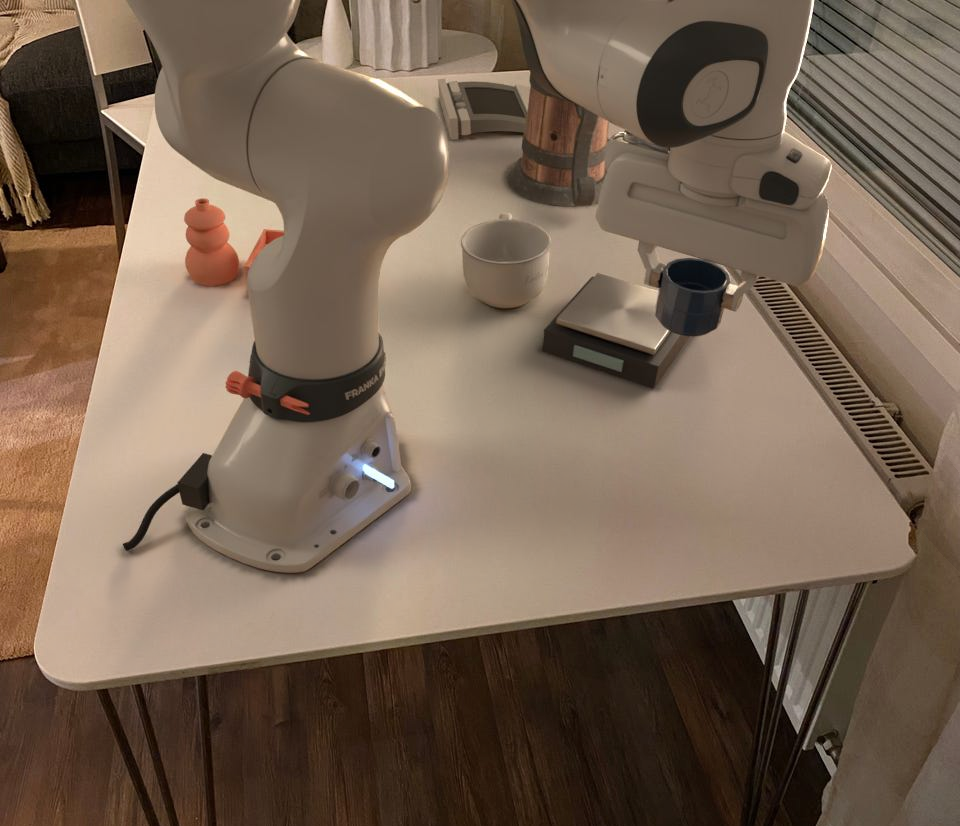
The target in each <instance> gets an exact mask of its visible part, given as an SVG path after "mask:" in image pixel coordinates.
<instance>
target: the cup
mask: <svg viewBox="0 0 960 826" xmlns="http://www.w3.org/2000/svg"><path fill="white" fill-rule="evenodd" d="M665 265H666V266H665V267H664V268H663V271H662V276H661V281H660V287H659V288H658V291H659V292H658V297H657V302H656V308H655V316H656V318H657V319H658V320H659V322H660V323H661V325H662V326H663V327H664V328H666V329H667V330H669V331H671V332H673V333H676V334H679V335H683V336H689V337H702V336H705V335H708V334H710V333H711V332H713V331H715V330H717V329H718V327H719V326H720V324H721V323H722V320H723V319H722V318H723V315H724V311H725V308H721V303H722V301H723V299H722V298H723V294H724V291H726V290H727V289H728V287H729V285H730V284H732V283H731V281H732V280H731V274H730V273H729V272H728V271H727V269H725V268H724V267H722V265H720V264H717V263H714V262H710V261H707V260H703V259H700V258H696V257H684V258H676V259H674V260H671V261H669V262H667V263H666V264H665Z"/></svg>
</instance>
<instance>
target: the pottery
mask: <svg viewBox="0 0 960 826" xmlns="http://www.w3.org/2000/svg"><path fill="white" fill-rule="evenodd" d="M194 204H195V205H194V206H192V207H190V208H189V209H188V210H187V211H186V212H185V213H184V217H183V221H184V224H186V225H187V227H186V228H185V238H186V241H187V243H188V244H189V245H190V247H189V248H188V249H187V251H186V254H185V258H184V265H185V269H186V271H187V273H188V276H189V278H190V279H191V281H192V282H193V283H195V284H197V285H200V286H207V287H215V286H222V285H226V284H229V283H230V282H232V281H234V280H235V279H236V278H237V277H238V274H239V265H240V260H239V256H238V253H237V251H236V250H235V248H234V247H233V246H232V244H230V243H229V242H228V241H229V239H230V230H229V228H228V226H227V225H226V223H225V220H226V214H225V212H224V211H223V209H221V208H220V207H218V206H216V205H213V204H210V200H209V199H208V198H205V197H204V198H197V199H195V201H194ZM283 235H284V230H280V229H266V228H263V230H262V232H261V234H260V236H259V238H258V239H257V241H256V243H255V245H254V247H253V249H252V251H251V252H250V254H249V256H248V258H247V260H246V262H245V263H244V266H243V268H244V269H243V270H244V276H245V282H246V284H247V274H248V271H249V268H250V266H251V264H252V262H253V261H254V259H255V257H256V256H257V255H258V253H259V252H260V251H261V250H262V249H263V248H264V247H265V246H266V245H267V244H269V243H270V242H271V241H273V240H275V239H277V238H279V237H281V236H283ZM246 290H247V291H248V287H247V286H246ZM247 297H248V298H249V294H248V293H247Z"/></svg>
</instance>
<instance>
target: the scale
mask: <svg viewBox="0 0 960 826" xmlns="http://www.w3.org/2000/svg"><path fill="white" fill-rule="evenodd" d="M593 278H594V276H591V277H590V278H589V279H588V280H587V281H586V282H585V283H584V284H583V286H582V287H581V288H580V289H579V290H578V291H577V292H576V294H575V295H574V296H573V297H572V298H571V299H570V300H569V301H568V302H567V303H566V304H565V306H564V307H563V308H562V309H561V310H560V312H559V313H558V314H557V315H556V316H555V317H554V318H553V319H552V320H551V321H550V322H549V324H548V325H546V327H545V328H544V329H543V337H542V347H541V351H542V352H544V353H546V354H550V355H553V356H556V357H558V358H562V359H565V360H568V361H571V362H573V363H577V364H580V365H583V366H586V367H589V368H592V369H595V370H598V371H601V372H604V373H608V374H610V375H613V376H617V377H619V378H622V379H625V380H628V381H632V382H634V383H638V384H641V385H643V386H645V387H646V386H647V387H650V388H653V389H655V388H656V386H657V385H658V383H659V382H660V380H661V379H662V377H663V376H664V374H665V373H666V372H667V370H668V369H669V367H670V366H671V364H672V363H673V361H674V360H675V358H676V357H677V355H678V354H679V353H680V351H681V350H682V348H683V347H684V346H685V344H686V343H687V341H688V340H689V338H690V336H683V335H679V334H676V333H673V332H670V333H669V335H668V336H667V337H666V339H665V340H664V342H663V343H662V344H661V346H660V347H659V349H658V350H657V351H656V353H655V354H654V355H652V354H649V353H646V352H643V351H640V350H637V349H633V348H630V347H627V346H624V345H621V344H618V343H615V342H612V341H608V340H605V339H602V338H599V337H596V336H593V335H590V334H587V333H583V332H580V331H577V330H574V329H571V328H568V327H565V326H561V325H558V324H556V322H557V318H558V317H559V315H560V314H561V313H562V312H563V311H564V310H565V309H566V308H567V307H568V305H569V304H570V303H571V302H572V301H573V300H574V299H575V298H576V296H577V295H578V294H579V293H580V292H581V291H582V290H583V289H584V288H585V286H586V285H587V284H588V283H589V282H590V281H591V280H592V279H593Z"/></svg>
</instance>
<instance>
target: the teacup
mask: <svg viewBox="0 0 960 826" xmlns="http://www.w3.org/2000/svg"><path fill="white" fill-rule="evenodd" d="M551 239H552V238H551V236H550V235H549V233H548V232H547V230H546V229H544V228H543V227H541V226H539V225H538V224H536V223H533V222H530V221H525V220H523V219H522V220H521V219H513V217H512V213H510V212H501V213H499V216H498V219H491V220H487V221H482V222H479V223H477V224H475V225H473V226H471V227H470V228H468V229H467V230H466V231H465V232H464V233H463V234H462V236H461V238H460V247H461V250H462V271H463V278H464V282H465V285H466V288H467V290H468V291H469V292H470V293H471V295H472V296H474V297H475V298H476V299H477V300H479V301H481V302H482V303H484V304H486V305H488V306H490V307H493V308H496V309H497V308H498V309H514V308H519V307H522V306H523V305H525V304H527V303H529V302H531V301H532V300H534V299H535V298H537V297H538V295H540V294H541V293H542V291H543V290H544V289H545V286H546V283H547V280H548V276H549V275H548V274H549V264H550V248H551V245H552V240H551Z"/></svg>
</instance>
